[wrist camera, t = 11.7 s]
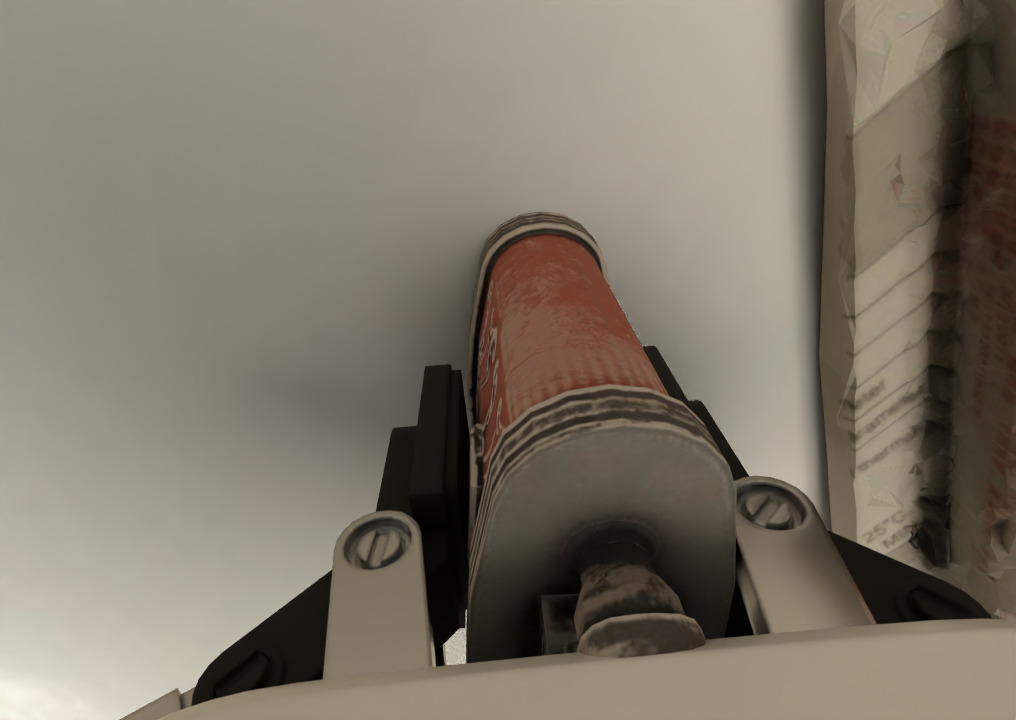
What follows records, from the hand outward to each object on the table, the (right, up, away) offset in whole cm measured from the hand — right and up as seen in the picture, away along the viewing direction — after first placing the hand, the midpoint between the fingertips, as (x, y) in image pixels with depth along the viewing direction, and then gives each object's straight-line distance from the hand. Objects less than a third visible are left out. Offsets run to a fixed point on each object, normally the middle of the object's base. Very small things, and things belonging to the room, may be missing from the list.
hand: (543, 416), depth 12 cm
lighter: (0, +1, +2) cm, 2 cm away
